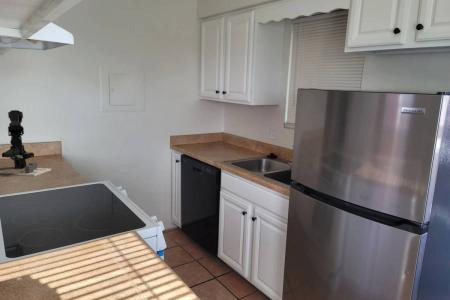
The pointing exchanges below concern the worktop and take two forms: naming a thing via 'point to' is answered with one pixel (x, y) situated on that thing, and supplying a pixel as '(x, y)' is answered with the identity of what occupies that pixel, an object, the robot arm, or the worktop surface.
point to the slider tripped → (29, 168)
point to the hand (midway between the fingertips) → (19, 167)
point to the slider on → (34, 164)
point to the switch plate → (35, 172)
